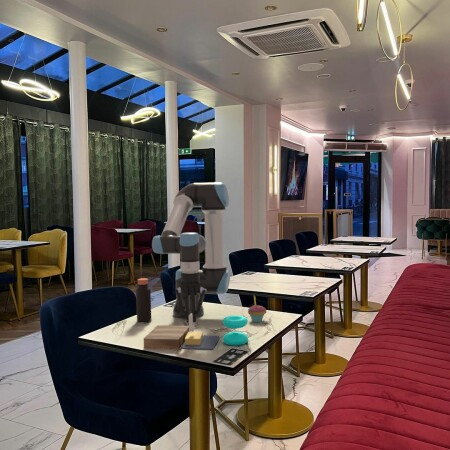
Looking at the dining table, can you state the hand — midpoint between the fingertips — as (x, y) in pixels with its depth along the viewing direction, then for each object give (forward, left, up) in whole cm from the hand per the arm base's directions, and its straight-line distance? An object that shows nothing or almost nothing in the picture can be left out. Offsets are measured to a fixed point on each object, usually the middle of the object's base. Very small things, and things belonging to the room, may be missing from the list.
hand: (191, 330), depth 184 cm
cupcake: (-34, +23, -5) cm, 41 cm away
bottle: (-29, -30, -5) cm, 42 cm away
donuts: (-2, +17, -5) cm, 18 cm away
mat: (0, +4, -5) cm, 6 cm away
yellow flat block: (0, +1, -4) cm, 4 cm away
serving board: (0, -10, -5) cm, 11 cm away
